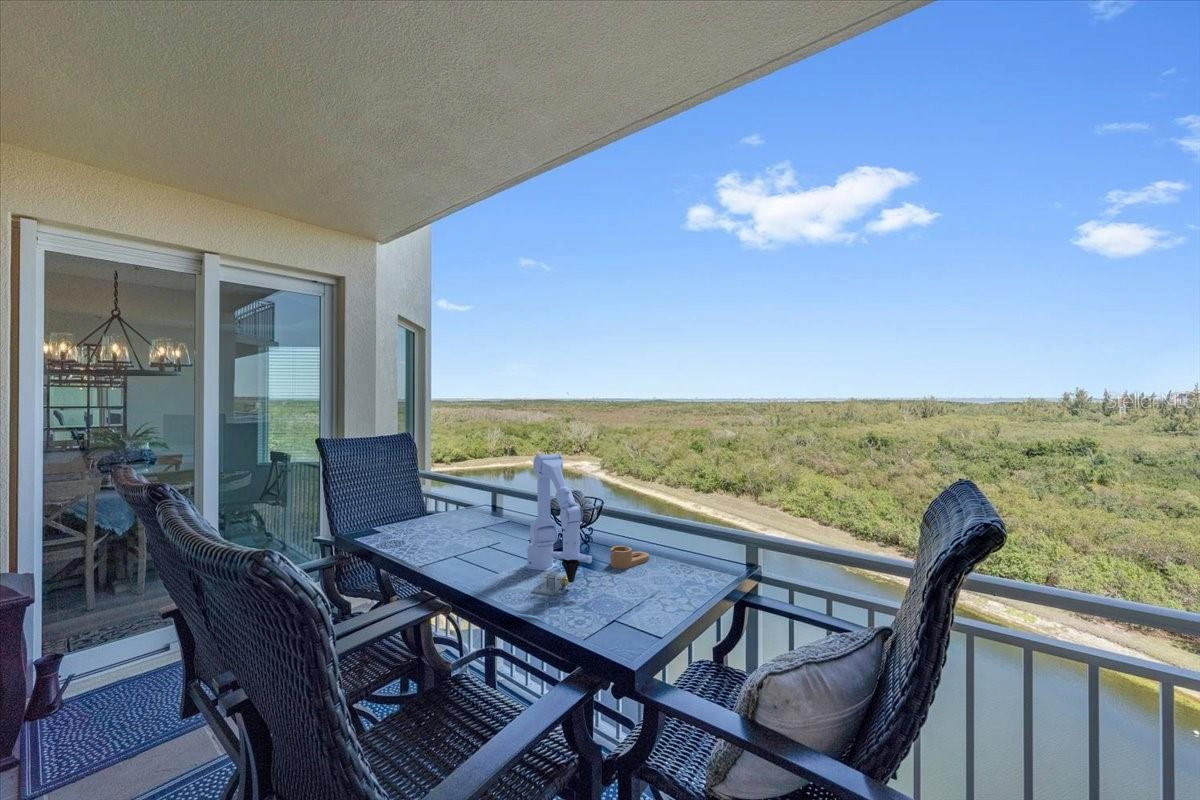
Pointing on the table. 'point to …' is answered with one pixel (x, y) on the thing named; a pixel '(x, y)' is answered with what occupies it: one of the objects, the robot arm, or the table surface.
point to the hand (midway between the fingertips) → (571, 581)
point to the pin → (565, 581)
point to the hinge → (550, 583)
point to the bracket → (627, 557)
